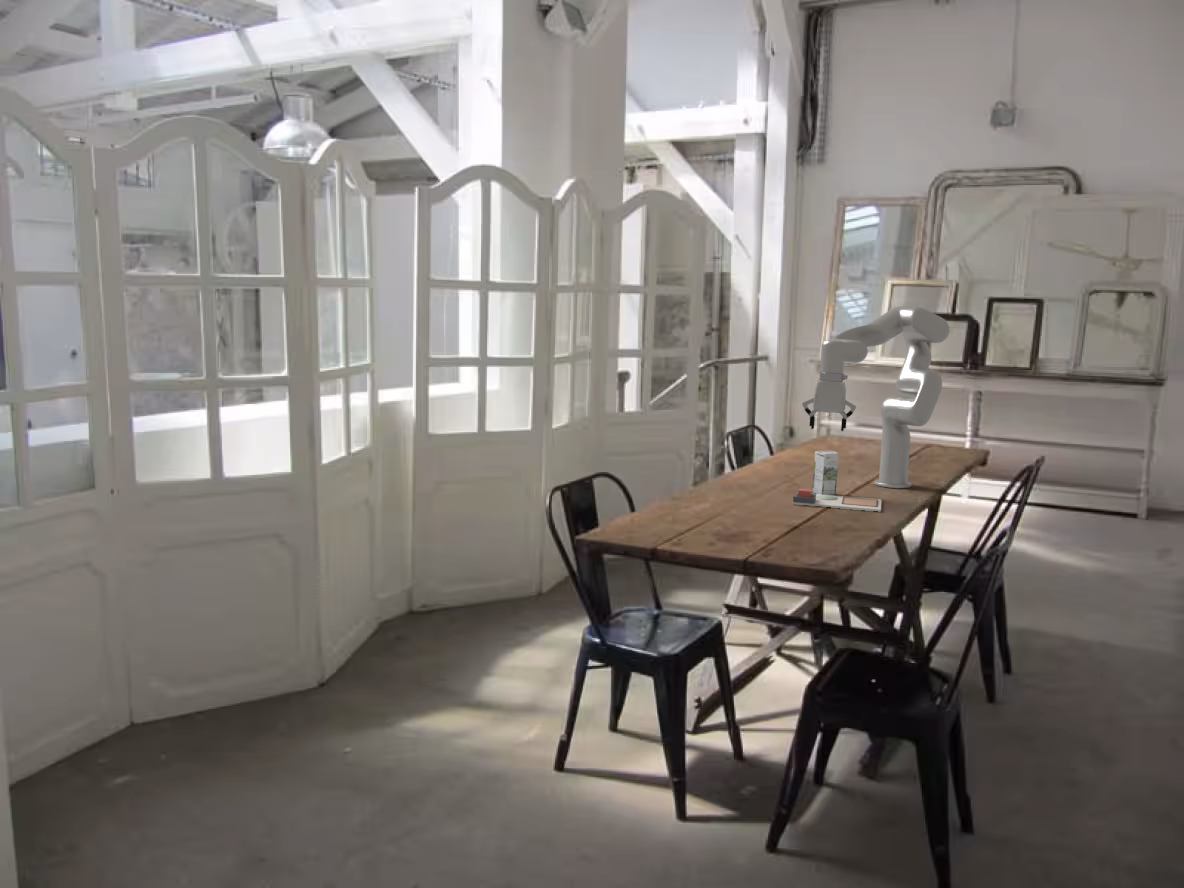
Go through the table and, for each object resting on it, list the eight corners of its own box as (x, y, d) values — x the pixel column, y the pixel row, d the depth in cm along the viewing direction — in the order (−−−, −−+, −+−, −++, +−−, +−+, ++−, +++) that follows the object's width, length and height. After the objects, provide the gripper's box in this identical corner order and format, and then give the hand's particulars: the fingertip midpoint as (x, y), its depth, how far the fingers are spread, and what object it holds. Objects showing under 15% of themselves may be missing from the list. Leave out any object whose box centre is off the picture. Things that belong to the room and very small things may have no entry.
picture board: (796, 494, 326) (797, 487, 325) (881, 501, 318) (881, 493, 318) (792, 504, 311) (792, 496, 310) (880, 512, 303) (881, 503, 303)
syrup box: (826, 492, 332) (828, 449, 330) (836, 495, 326) (839, 452, 324) (811, 492, 330) (814, 450, 328) (821, 496, 324) (824, 453, 322)
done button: (799, 494, 315) (799, 488, 315) (811, 495, 314) (812, 489, 314) (797, 496, 311) (798, 490, 311) (810, 497, 310) (811, 491, 310)
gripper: (858, 378, 323) (854, 430, 326) (805, 375, 328) (801, 426, 331) (857, 380, 316) (853, 432, 319) (803, 377, 321) (799, 428, 323)
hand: (827, 429), depth 325 cm, fingers open, 9 cm apart
